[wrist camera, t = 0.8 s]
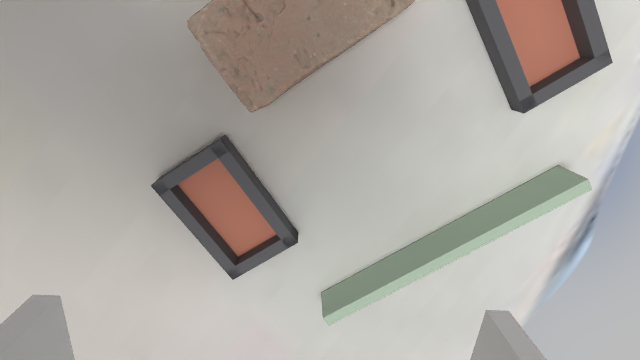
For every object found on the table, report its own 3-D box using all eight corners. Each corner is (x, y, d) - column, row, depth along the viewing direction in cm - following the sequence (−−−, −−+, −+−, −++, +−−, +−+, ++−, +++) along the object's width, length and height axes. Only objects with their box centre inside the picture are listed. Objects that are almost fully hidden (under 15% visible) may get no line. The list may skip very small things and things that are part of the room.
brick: (364, -101, 27) (374, -130, 23) (414, 0, 29) (432, -8, 25) (198, 27, 30) (179, 23, 25) (257, 109, 32) (249, 119, 28)
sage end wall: (321, 292, 39) (322, 318, 36) (558, 165, 35) (588, 178, 31) (326, 299, 40) (328, 325, 36) (561, 174, 35) (592, 189, 31)
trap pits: (159, 178, 34) (150, 185, 32) (550, -78, 28) (567, -88, 26) (236, 268, 38) (232, 279, 36) (594, 62, 31) (612, 62, 30)
